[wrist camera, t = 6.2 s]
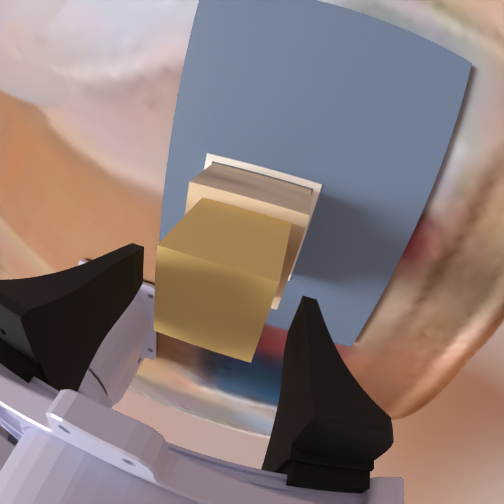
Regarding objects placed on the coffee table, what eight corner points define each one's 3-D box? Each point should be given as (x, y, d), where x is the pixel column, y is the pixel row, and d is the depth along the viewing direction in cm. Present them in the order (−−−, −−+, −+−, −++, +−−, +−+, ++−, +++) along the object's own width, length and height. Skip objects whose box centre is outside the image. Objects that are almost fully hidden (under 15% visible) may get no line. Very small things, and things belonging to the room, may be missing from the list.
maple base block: (284, 272, 21) (276, 309, 18) (199, 246, 22) (177, 278, 18) (311, 189, 18) (309, 215, 15) (213, 162, 18) (189, 181, 15)
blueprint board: (350, 341, 24) (350, 347, 23) (159, 284, 25) (155, 289, 24) (467, 63, 13) (472, 63, 12) (206, -13, 13) (203, -16, 13)
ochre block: (268, 294, 17) (250, 362, 13) (191, 270, 18) (153, 330, 13) (291, 222, 15) (279, 282, 11) (202, 197, 15) (157, 244, 11)
